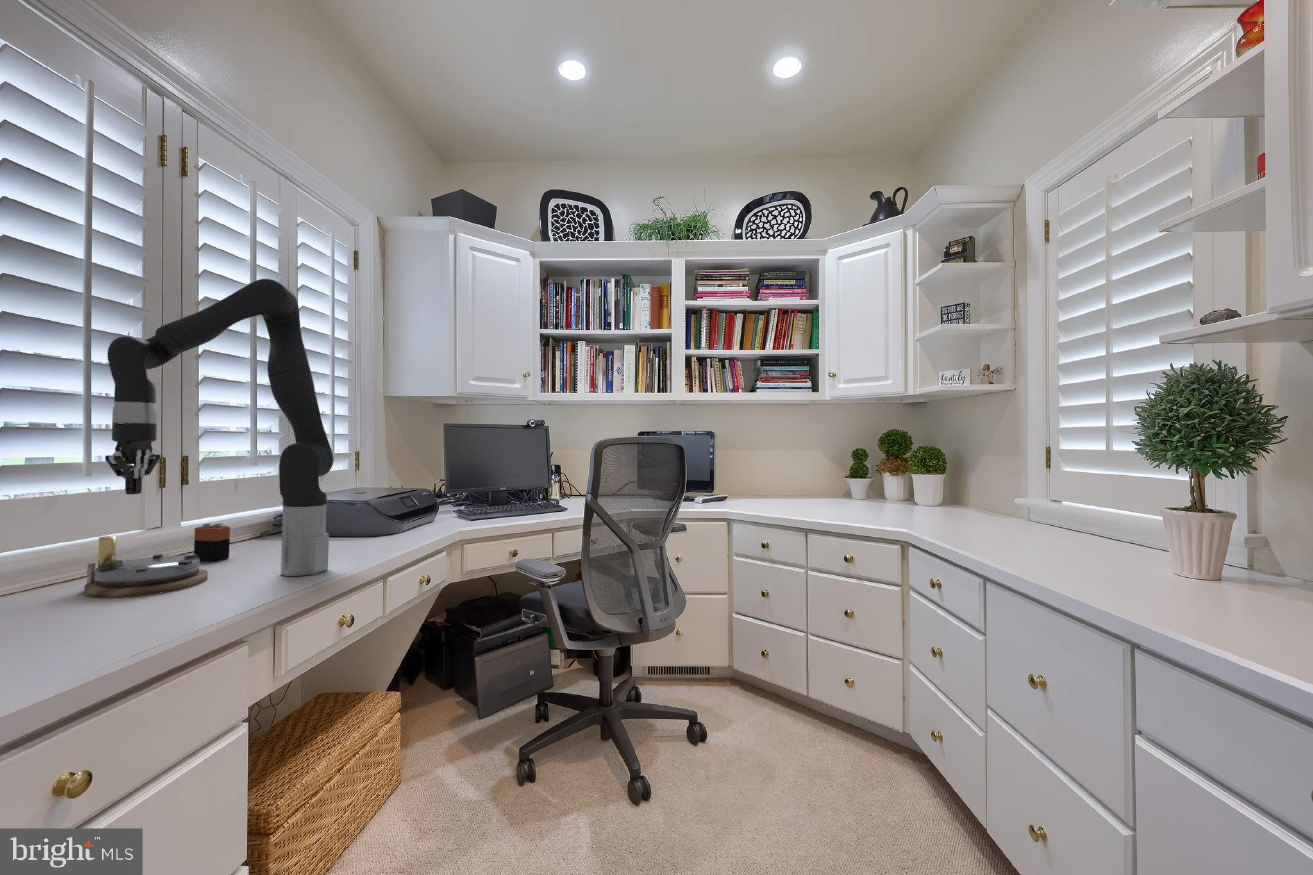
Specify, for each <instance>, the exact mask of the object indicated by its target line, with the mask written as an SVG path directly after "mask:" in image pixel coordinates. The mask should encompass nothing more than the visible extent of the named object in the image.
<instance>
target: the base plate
mask: <svg viewBox="0 0 1313 875" xmlns="http://www.w3.org/2000/svg"><path fill="white" fill-rule="evenodd" d="M95 569H96V562H89V563H87V569H86V571H87V573H86V574H87V575H86V584H85V585H84V588H83V595H85V596H86V597H89V598H97V599H98V598H99V599H112V598H114V599H115V598H116V599H117V597H120V598H133V597H139V596H140V595H143V596H150V595H149V594H151V595H156V594H157V593H158V594H161V593H160V592H164V593H168V592H167V591H169V592H173V591H172V590H174V591H179V590H182V589H181V588H184V589H186V588H187V589H188V588H190V587H189V586H191V587H194V586H197V585H200V584H202V583H204V582H206V581H207V580H208V574H209V573H208V570H207V569H204V568H201V567H199V573H198V574H196V575H194V576H191V577H188V578H184V579H180V580H176V581H171V582H165V583H159V584H152V585H144V586H133V587H101V586H97V585H95ZM199 583H200V584H199ZM193 585H194V586H193ZM178 589H179V590H178ZM158 594H157V595H158ZM138 595H139V596H138ZM140 597H141V596H140Z"/></svg>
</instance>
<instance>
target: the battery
mask: <svg viewBox="0 0 1313 875" xmlns="http://www.w3.org/2000/svg"><path fill="white" fill-rule="evenodd" d="M230 535H231V527H230V526H229V525H224V523H221V522H219V523H212V524H211V522H210V523H203V524H202V526H198V527H197V526H196V527H195V528H194V541H193V542H194V543H193V544H194V545H193V554H197V555H198V558H200V562H211V561H212V562H215V563H216V562H219V561H224V560H228V559H229V558H230V538H231V537H230Z"/></svg>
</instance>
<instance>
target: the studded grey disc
mask: <svg viewBox="0 0 1313 875" xmlns="http://www.w3.org/2000/svg"><path fill="white" fill-rule="evenodd" d="M116 548H117V536H116V535H105V536H99V537H98V552H97V553H98V554H97V568H96V567H95V585H97V586H101V587H133V586H144V585H152V584H159V583H165V582H171V581H176V580H180V579H184V578H188V577H191V576H194V575H196V574H198V573H199V568H201V567H200V562H201V561H200V558H198V555H197V554H194V553H192V554H186V555H164V554H163V553H155V554H153V555H152V556H149V557H140V558H134V559H133V558H132V559H125V560H123V559H118V560H117V559H116V550H117V549H116Z"/></svg>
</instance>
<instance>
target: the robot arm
mask: <svg viewBox="0 0 1313 875" xmlns="http://www.w3.org/2000/svg"><path fill="white" fill-rule="evenodd" d="M256 316H261V317H262V318H263V321H264V325H265V326H266V330H267V333H268V336H269V351H268V359H267V366H266V367H267V368H266V369H267V375H268V380H269V384H270V389H271V393H272V396H273V397H274V398H273V399H274V400H275V402H276V404H277V406H278V407H279V409H281V411H282V413H283V415H284V416H285V417H286V418H287V420H288V422H289V424H290V426H291V428H292V430H293V434H294V438H295V440H294V441H295V442H294V443H291V444H289V445H288V446H286V447H285V448H284V449H283V451H282V452H281V454H280V458H279V463H278V465H279V467H278V473H279V475H278V477H279V478H278V479H279V481H278V482H279V493H280V496H281V498H282V522H281V523H282V524H281V525H282V526H281V552H280V553H281V554H280V560H281V561H280V575H281V576H286V577H300V576H308V575H310V576H314V575H317V574H319V573H322V572H325V571H326V570H329V550H330V548H329V546H330V534H329V532H327V531H326V529H327V528H326V524H327V523H326V522H327V500H328V499H327V498H328V497H327V493H325V492H324V491H323V490H322V489H321V488H320V482H319V481H320V477H323V476H325V475H327V474H328V473H329V472H330V471H331V469H332V468H333V464H334V455H333V454H334V453H333V450H332V448H331V443H330V442H329V439H328V436H327V433H326V430H325V428H324V424H323V422H322V416H321V413H320V407H319V403H318V398H317V394H316V389H315V382H314V378H313V373H312V370H311V367H310V363H309V359H308V354H307V352H306V348H305V343H304V340H303V337H302V328H301V321H300V320H301V318H300V308H299V302H298V300H297V298H296V296H295V295H294V294H293V292H292V291H291V290H290V289H288V288H287V287H286V286H284V285H283V284H282V283H280V282H278V281H276V280H274V279H272V278H261V279H257V280H255V281H252V282H250V283H248V284H247V285H245V286H242V288H240V289H238V290H236V291H235V292H234V293H232V294H230V295H228V296H226V297H224V298H223V299H221V300H219V301H217V302H215V303H213V304H211V305H210V306H207V307H205V308H203V309H201V310H199V311H196V312H194V313H191V314H188V315H187V316H186V315H185V316H184V317H181V318H179V319H176V320H174V321H172V322H169V323H166V324H163V325H161V326H159V327H158V328H157V329H156V330H155V335H153V336H151V337H149V338H146V339H142V338H141V339H140V338H138V337H133V336H129V335H128V336H124V335H123V336H120V337H119V336H118V337H117V338H114V339H113V340H112V341H110V343H109V346H108V348H107V362H108V366H109V370H110V373H111V374H110V375H111V377H112V380H113V382H114V391H113V392H114V397H113V398H114V403H113V408H112V413H111V415H112V417H111V418H112V419H111V421H112V422H111V423H112V424H111V440H112V441H113V442H116V446H115V448H114V451H115V452H114V453H113V454H111V455H106V456H105V457H104V458H105V459H104V460H105V461H106V463H107V464H108V465H109V467H110V468H111V470H112V471H113V472H114V474H115V475H116V477H122V478H123V479H125V482H124V483H125V484H124V486H125V487H124V491H125V494H126V495H138V494H139V495H140V494H141V493H142V490H143V478H145V476H149V475H151V473H152V472H153V470H154V469H155V467H156V465H157V464H158V463H159V461H160V459H161V454H159V453H158V454H155V453H154V452H153V450H154V448H153V446H152V443H153V442H156V441H157V434H158V433H157V431H158V430H157V429H158V428H157V426H158V410H157V404H156V403H157V387H156V383H155V382H154V381H153V380H151V379H150V378H149V376H148V373H147V372H148V370H152V369H155V368H158V367H161V366H163V365H165V364H167V363H168V362H171V360H173V359H175V358H177V356H179V355H180V354H182V353H185V352H187V351H189V350H192V349H194V348H197V347H200V346H202V345H204V344H206V343H209V342H211V341H212V340H214V339H216V338H217V337H218V336H220V335H222V333H224V332H225V331H226V330H227V329H229V328H230V327H232V326H233V325H235V324H237V323H239V322H241V321H243V320H246V319H251V318H253V317H256Z"/></svg>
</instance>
